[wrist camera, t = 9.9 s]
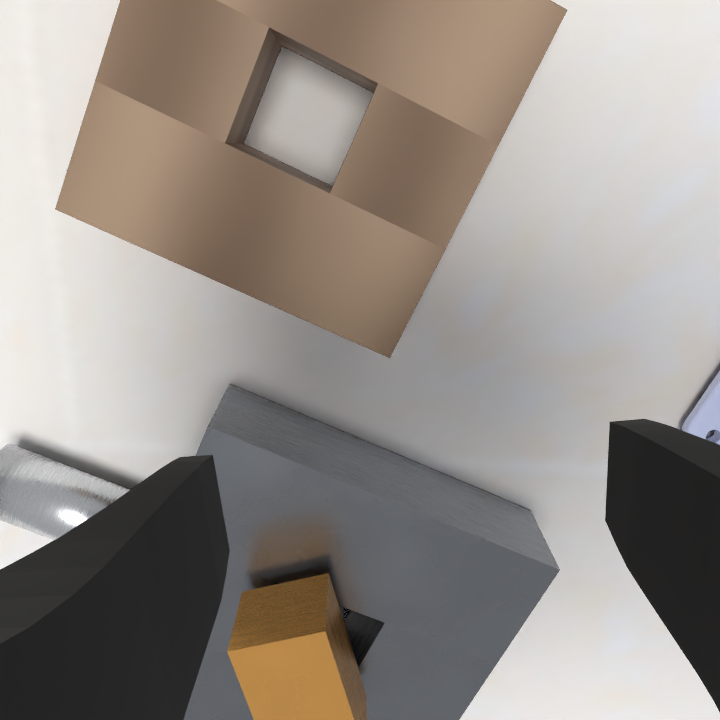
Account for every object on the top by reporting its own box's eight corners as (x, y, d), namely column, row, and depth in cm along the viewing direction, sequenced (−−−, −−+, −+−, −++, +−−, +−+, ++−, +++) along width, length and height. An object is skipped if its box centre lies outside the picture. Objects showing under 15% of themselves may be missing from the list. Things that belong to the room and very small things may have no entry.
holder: (534, 31, 18) (567, 9, 16) (384, 329, 21) (389, 358, 18) (212, -147, 17) (184, -206, 14) (97, 200, 20) (55, 209, 17)
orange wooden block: (364, 611, 25) (368, 763, 19) (295, 625, 25) (277, 780, 19) (332, 504, 23) (325, 631, 17) (259, 520, 24) (227, 651, 17)
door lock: (530, 510, 24) (560, 569, 20) (389, 733, 27) (394, 815, 24) (60, 312, 21) (5, 343, 18) (-31, 587, 24) (-91, 656, 21)
